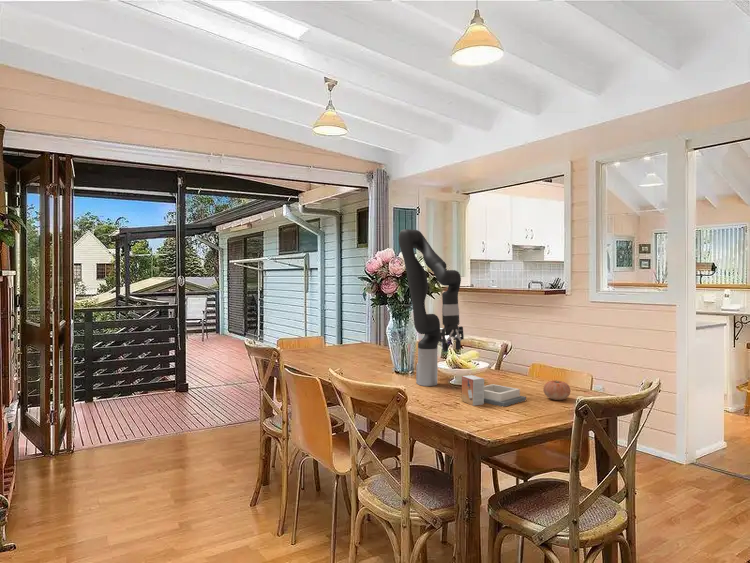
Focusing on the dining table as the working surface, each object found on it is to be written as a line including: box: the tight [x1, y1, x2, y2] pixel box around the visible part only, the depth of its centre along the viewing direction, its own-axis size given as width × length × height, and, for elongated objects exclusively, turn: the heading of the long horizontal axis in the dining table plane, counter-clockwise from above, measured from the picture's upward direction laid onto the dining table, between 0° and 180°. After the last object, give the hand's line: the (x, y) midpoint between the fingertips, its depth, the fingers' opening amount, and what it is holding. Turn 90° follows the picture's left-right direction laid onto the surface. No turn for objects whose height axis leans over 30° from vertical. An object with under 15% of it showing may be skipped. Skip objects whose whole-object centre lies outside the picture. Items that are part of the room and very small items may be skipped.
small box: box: [461, 374, 485, 406], centre depth 212 cm, size 8×6×10 cm
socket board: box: [484, 383, 527, 408], centre depth 217 cm, size 18×16×4 cm
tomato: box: [542, 380, 572, 401], centre depth 219 cm, size 11×11×8 cm
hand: (451, 350), depth 234 cm, fingers open, 8 cm apart
